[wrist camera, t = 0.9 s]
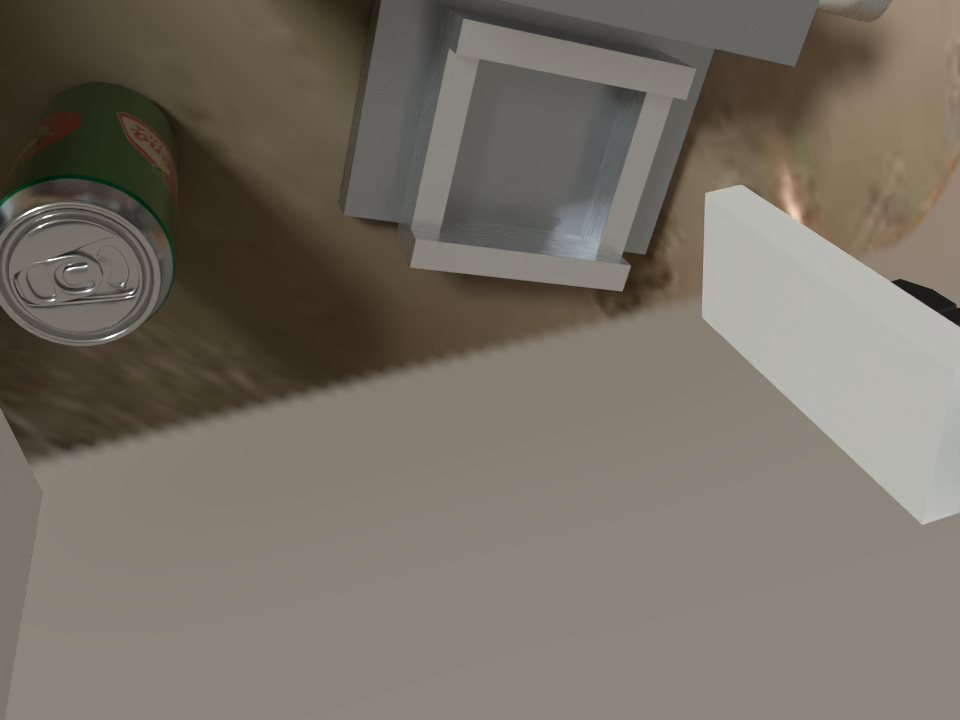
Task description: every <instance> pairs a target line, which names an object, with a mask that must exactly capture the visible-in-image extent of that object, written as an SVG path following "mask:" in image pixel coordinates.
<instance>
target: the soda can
mask: <svg viewBox="0 0 960 720" xmlns="http://www.w3.org/2000/svg"><path fill="white" fill-rule="evenodd" d="M178 163H179V155H178V145H177V141H176V137H175V134H174V132H173V129H172V127H171V125H170V123H169V122H168V120H167V118H166V117H165V116H164V114H163V113H162V112H161V111H160V110H159V108H157V107H156V106H155V105H154V104H153V103H152V102H151V101H150V100H148V99H147V98H145V97H144V96H142V95H141V94H139V93H137V92H135V91H133V90H131V89H129V88H126V87H123V86H120V85H116V84H111V83H99V82H94V83H85V84H80V85H77V86H73V87H71V88H68V89H66V90H64V91H62V92H61V93H59V94H58V95H56V96H55V97H53V98H52V99H51V100H50V101H49V102H48V103H47V104H46V106H45V107H44V109H43V110H42V111H41V113H40V115H39V117H38V119H37V121H36V123H35V125H34V127H33V129H32V131H31V133H30V135H29V137H28V139H27V141H26V143H25V145H24V147H23V149H22V151H21V153H20V155H19V157H18V159H17V161H16V163H15V165H14V167H13V169H12V171H11V172H10V174H9V176H8V178H7V180H6V182H5V184H4V186H3V188H2V190H1V192H0V305H1V307H2V308H3V309H4V310H5V312H6V313H7V314H8V315H9V316H10V317H11V318H12V319H13V320H14V321H15V322H16V323H17V324H18V325H20V326H21V327H23V328H24V329H26V330H27V331H28V332H30V333H32V334H34V335H36V336H38V337H40V338H43V339H45V340H48V341H51V342H54V343H59V344H63V345H71V346H93V345H100V344H105V343H108V342H111V341H115V340H117V339H119V338H121V337H124V336H126V335H127V334H129V333H130V332H132V331H133V330H135V329H136V328H137V327H139V326H140V325H142V324H143V323H145V322H146V321H148V320H149V319H150V318H151V317H152V316H153V315H154V314H155V313H156V312H157V311H158V310H159V309H160V307H161V306H162V305H163V303H164V302H165V300H166V299H167V297H168V295H169V293H170V291H171V288H172V285H173V281H174V277H175V269H176V239H177V201H178Z"/></svg>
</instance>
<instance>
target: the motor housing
mask: <svg viewBox="0 0 960 720" xmlns="http://www.w3.org/2000/svg"><path fill="white" fill-rule="evenodd" d="M891 1H892V0H373V5H372V11H371V17H370V23H369V28H368V34H367V40H366V46H365V52H364V58H363V64H362V69H361V75H360V81H359V87H358V93H357V99H356V104H355V110H354V116H353V122H352V128H351V134H350V139H349V145H348V151H347V157H346V163H345V169H344V174H343V180H342V186H341V192H340V198H339V205H340V207H341V210H342V212H343V215H345V216H352V217H360V218H368V219H375V220H383V221H391V222H399V223H398V228H397V233H396V240H397V242H398V244H399V246H400V248H401V250H402V252H403V254H404V256H405V258H406V260H407V262H408V264H409V266H410V268H419V269H428V270H437V271H446V272H455V273H464V274H472V275H481V276H490V277H499V278H508V279H517V280H526V281H535V282H544V283H552V284H561V285H570V286H579V287H588V288H597V289H606V290H615V291H623V288H624V285H625V282H626V279H627V276H628V273H629V270H630V267H631V265H630V264H629V263H628V262H627V261H626V260H625V259H624V258H623V257H622V254H623V252H630V253H638V254H646V251H647V248H648V245H649V242H650V239H651V237H652V234H653V231H654V228H655V225H656V222H657V219H658V216H659V213H660V210H661V207H662V204H663V201H664V198H665V195H666V192H667V189H668V186H669V183H670V180H671V177H672V174H673V171H674V168H675V165H676V163H677V160H678V157H679V154H680V151H681V148H682V145H683V142H684V139H685V136H686V133H687V130H688V127H689V124H690V121H691V118H692V115H693V112H694V109H695V106H696V103H697V100H698V97H699V94H700V91H701V89H702V86H703V83H704V80H705V77H706V74H707V71H708V68H709V65H710V62H711V59H712V56H713V53H714V50H715V49H718V50H723V51H727V52H731V53H736V54H740V55H745V56H749V57H754V58H758V59H762V60H767V61H771V62H776V63H780V64H785V65H789V66H794V67H795V65H796V62H797V59H798V57H799V54H800V52H801V49H802V46H803V44H804V41H805V38H806V36H807V33H808V30H809V28H810V25H811V22H812V20H813V17H814V15H815V12H816V10H819V11H823V12H827V13H831V14H835V15H839V16H843V17H847V18H851V19H855V20H859V21H863V22H872V21H874V20H876V19H878V18H879V17H880V16H881V15H882V14H883V13H884V12H885V11H886V10H887V8H888V6H889V5H890V3H891Z"/></svg>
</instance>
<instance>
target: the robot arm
mask: <svg viewBox="0 0 960 720" xmlns="http://www.w3.org/2000/svg"><path fill="white" fill-rule="evenodd" d="M702 317H703V319H705V320H706V321H707V322H708V323H709V324H710V325H711V326H712V327H713V328H714V329H715V330H716V331H717V332H718V333H720V334H721V335H722V336H723V337H724V338H725V339H726V340H727V341H728V342H729V343H730V344H731V345H732V346H733V347H734V348H735V349H736V350H737V351H739V352H740V353H741V354H742V355H743V356H744V357H745V358H746V359H747V360H748V361H749V362H750V363H751V364H752V365H753V366H754V367H755V368H757V369H758V370H759V371H760V372H761V373H762V374H763V375H764V376H765V377H766V378H767V379H768V380H769V381H770V382H771V383H772V384H774V385H775V386H776V387H777V388H778V389H779V390H780V391H781V392H782V393H783V394H784V395H785V396H786V397H787V398H788V399H790V401H792V402H793V403H794V404H795V405H796V406H797V407H798V408H799V409H800V410H801V411H802V412H803V413H804V414H805V415H807V417H808V418H810V419H811V420H812V421H813V422H814V423H815V424H816V425H817V426H818V427H819V428H820V429H821V430H822V431H823V432H824V433H825V434H827V435H828V436H829V437H830V438H831V439H832V440H833V441H834V442H835V443H836V444H837V445H838V446H839V447H840V448H841V449H843V451H845V452H846V453H847V454H848V455H849V456H850V457H851V458H852V459H853V460H854V461H855V462H856V463H857V464H858V465H859V466H861V467H862V468H863V469H864V470H865V471H866V472H867V473H868V474H869V475H870V476H871V477H872V478H873V479H874V480H875V481H877V483H878V484H880V485H881V486H882V487H883V488H884V489H885V490H886V491H887V492H888V493H889V494H890V495H891V496H892V497H893V498H894V499H895V500H897V501H898V502H899V503H900V504H901V505H902V506H903V507H904V508H905V509H906V510H907V511H908V512H909V513H910V514H911V515H912V516H913V517H915V518H916V519H917V520H918V521H919V522H920V523H921V524H922V525H923V524H927V523H930V522H933V521H936V520H939V519H942V518H945V517H948V516H951V515H954V514H957V513H960V308H957V306H956V304H955V303H953V302H952V301H950V300H948V299H947V298H945V297H944V296H942V295H940V294H939V293H937V292H936V291H934V290H932V289H929V288H926V287H923V286H920V285H917V284H914V283H911V282H908V281H905V280H902V279H898V280H895V281H891V282H890V281H888V280H887V279H885V278H884V277H882V276H881V275H879V274H878V273H876V272H874V271H873V270H871V269H870V268H868V267H867V266H865V265H864V264H862V263H861V262H859V261H858V260H856V259H855V258H853V257H852V256H850V255H849V254H847V253H845V252H844V251H842V250H841V249H839V248H838V247H836V246H835V245H833V244H832V243H830V242H829V241H827V240H826V239H824V238H822V237H821V236H819V235H818V234H816V233H815V232H813V231H812V230H810V229H809V228H807V227H806V226H804V225H803V224H801V223H800V222H798V221H796V220H795V219H793V218H792V217H790V216H789V215H787V214H786V213H784V212H783V211H781V210H780V209H778V208H777V207H775V206H773V205H772V204H770V203H769V202H767V201H766V200H764V199H763V198H761V197H760V196H758V195H757V194H755V193H754V192H752V191H751V190H749V189H747V188H746V187H744V186H743V185H738V186H733V187H729V188H725V189H721V190H717V191H712V192H708V193H705V224H704V261H703V297H702ZM41 497H42V490H41V488H40V486H39V484H38V482H37V480H36V478H35V476H34V474H33V472H32V470H31V468H30V466H29V464H28V462H27V460H26V458H25V456H24V454H23V452H22V450H21V448H20V446H19V444H18V442H17V440H16V438H15V436H14V434H13V432H12V430H11V428H10V426H9V424H8V422H7V420H6V418H5V416H4V414H3V412H2V410H1V408H0V720H5V716H6V709H7V703H8V698H9V691H10V684H11V679H12V673H13V667H14V661H15V655H16V649H17V643H18V637H19V631H20V625H21V619H22V613H23V607H24V600H25V594H26V588H27V582H28V576H29V570H30V564H31V558H32V551H33V546H34V540H35V534H36V528H37V522H38V516H39V510H40V503H41Z"/></svg>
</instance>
